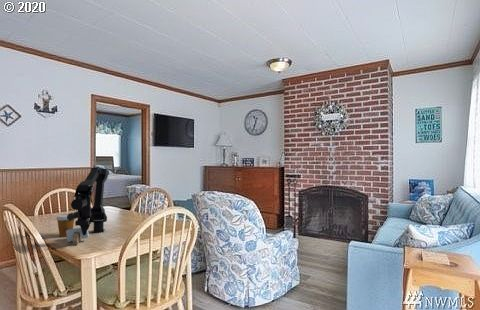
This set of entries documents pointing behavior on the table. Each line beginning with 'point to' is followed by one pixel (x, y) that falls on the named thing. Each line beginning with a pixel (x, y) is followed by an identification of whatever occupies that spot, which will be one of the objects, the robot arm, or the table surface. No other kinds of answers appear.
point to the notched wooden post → (76, 238)
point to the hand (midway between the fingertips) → (84, 234)
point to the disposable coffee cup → (64, 224)
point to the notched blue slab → (71, 232)
